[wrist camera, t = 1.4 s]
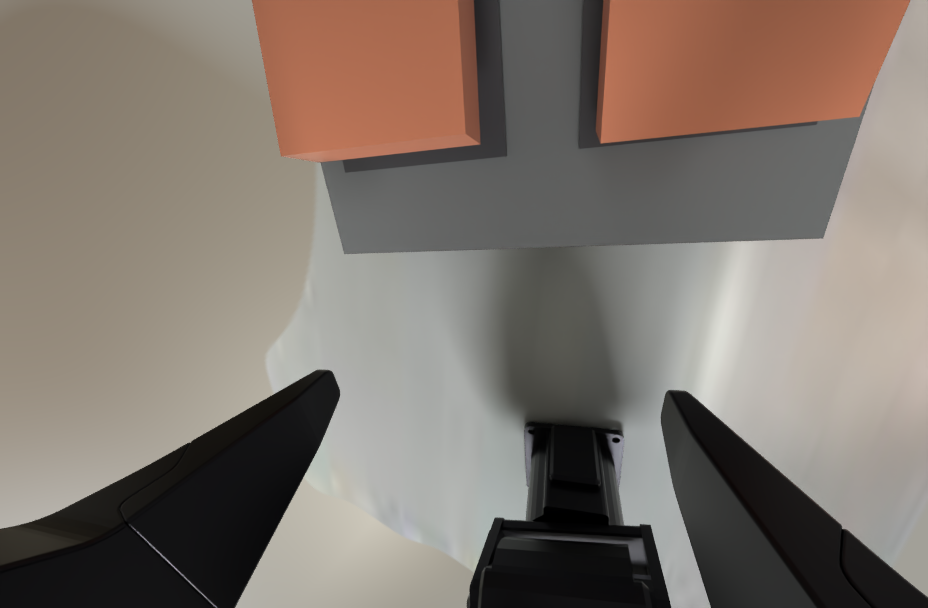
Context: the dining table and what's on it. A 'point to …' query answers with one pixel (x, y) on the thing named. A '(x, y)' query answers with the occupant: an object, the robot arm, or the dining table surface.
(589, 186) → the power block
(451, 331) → the dining table surface
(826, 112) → the block
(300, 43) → the block
